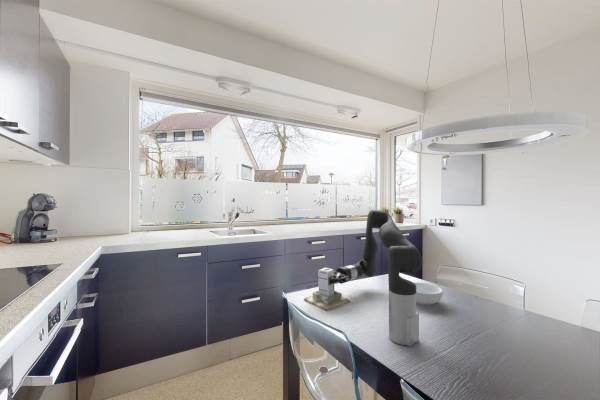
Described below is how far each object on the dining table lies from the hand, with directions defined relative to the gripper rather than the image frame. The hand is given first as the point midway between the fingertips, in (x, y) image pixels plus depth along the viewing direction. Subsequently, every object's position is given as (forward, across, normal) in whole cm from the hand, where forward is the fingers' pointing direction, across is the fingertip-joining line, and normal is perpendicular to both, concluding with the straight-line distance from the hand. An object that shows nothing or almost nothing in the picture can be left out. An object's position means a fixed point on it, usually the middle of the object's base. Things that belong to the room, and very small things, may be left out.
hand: (323, 279), depth 129 cm
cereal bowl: (-37, +30, +11) cm, 49 cm away
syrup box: (-2, 0, +10) cm, 10 cm away
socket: (-2, 0, +11) cm, 11 cm away
